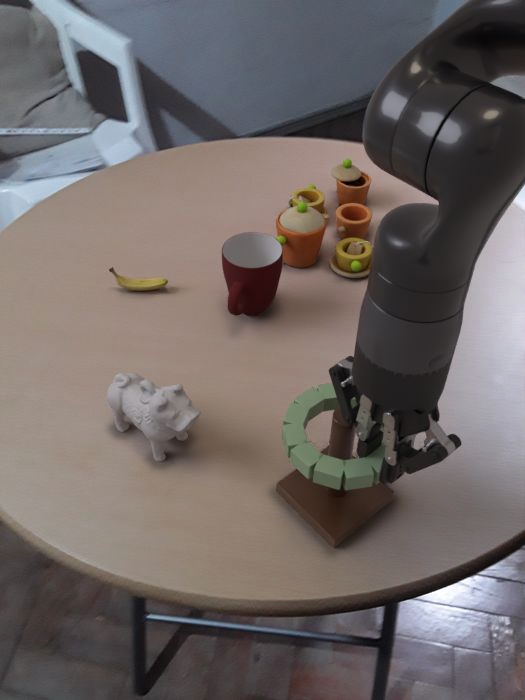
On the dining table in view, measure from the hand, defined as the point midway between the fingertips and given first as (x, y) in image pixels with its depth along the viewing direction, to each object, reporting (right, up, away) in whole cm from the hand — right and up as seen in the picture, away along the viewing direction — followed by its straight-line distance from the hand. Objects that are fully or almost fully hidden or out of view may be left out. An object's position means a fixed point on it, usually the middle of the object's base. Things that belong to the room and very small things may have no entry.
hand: (378, 468), depth 64 cm
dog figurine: (-23, +1, +16) cm, 28 cm away
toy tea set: (0, +30, +45) cm, 54 cm away
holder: (-3, -5, +10) cm, 11 cm away
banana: (-29, +20, +35) cm, 49 cm away
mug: (-13, +16, +31) cm, 37 cm away
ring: (-3, +2, +3) cm, 5 cm away
